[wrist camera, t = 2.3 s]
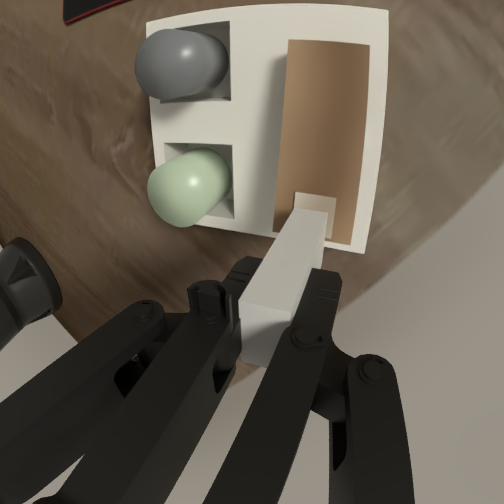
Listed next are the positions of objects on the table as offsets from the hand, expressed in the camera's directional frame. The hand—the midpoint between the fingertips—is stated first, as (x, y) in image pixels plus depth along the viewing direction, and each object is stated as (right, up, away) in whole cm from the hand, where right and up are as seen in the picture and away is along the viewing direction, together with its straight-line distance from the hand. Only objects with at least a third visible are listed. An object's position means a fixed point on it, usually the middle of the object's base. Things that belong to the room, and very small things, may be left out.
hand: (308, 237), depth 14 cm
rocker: (+1, +5, 0) cm, 5 cm away
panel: (-1, +9, +7) cm, 11 cm away
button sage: (-6, +5, +7) cm, 11 cm away
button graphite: (-6, +11, +3) cm, 13 cm away
